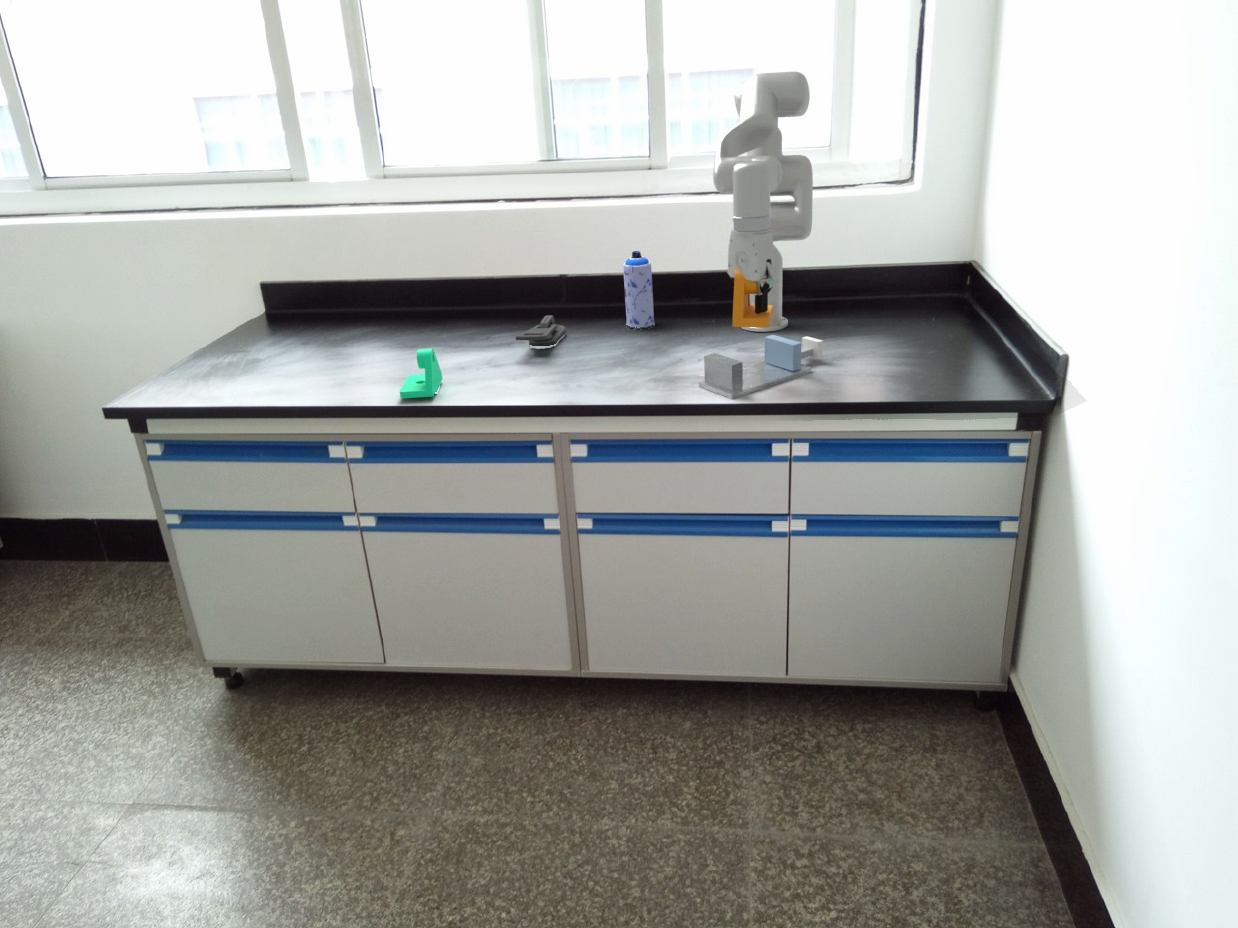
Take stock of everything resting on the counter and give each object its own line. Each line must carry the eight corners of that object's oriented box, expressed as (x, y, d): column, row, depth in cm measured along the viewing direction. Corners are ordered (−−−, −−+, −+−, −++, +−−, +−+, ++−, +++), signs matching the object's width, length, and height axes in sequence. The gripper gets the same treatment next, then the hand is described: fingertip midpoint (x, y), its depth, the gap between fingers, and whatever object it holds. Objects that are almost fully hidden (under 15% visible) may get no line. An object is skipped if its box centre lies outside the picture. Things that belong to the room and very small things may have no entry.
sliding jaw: (764, 362, 209) (764, 337, 206) (800, 350, 215) (800, 326, 212) (792, 371, 202) (793, 345, 200) (828, 359, 208) (829, 333, 205)
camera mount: (411, 385, 215) (404, 343, 211) (443, 383, 215) (436, 341, 210) (400, 403, 204) (392, 359, 200) (434, 401, 204) (427, 357, 200)
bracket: (766, 331, 191) (767, 274, 185) (732, 330, 192) (732, 274, 187) (773, 317, 200) (773, 262, 195) (740, 316, 202) (740, 262, 197)
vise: (698, 386, 201) (697, 356, 198) (777, 361, 213) (777, 332, 210) (731, 399, 192) (731, 367, 189) (811, 372, 204) (812, 342, 201)
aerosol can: (628, 321, 251) (623, 249, 243) (656, 321, 250) (652, 248, 242) (624, 329, 244) (619, 255, 236) (653, 329, 243) (649, 254, 235)
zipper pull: (512, 337, 222) (533, 309, 245) (515, 362, 225) (536, 333, 247) (547, 336, 221) (566, 308, 243) (550, 362, 224) (568, 332, 246)
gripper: (711, 222, 192) (712, 306, 200) (767, 231, 179) (767, 321, 187) (737, 217, 196) (738, 300, 204) (794, 225, 183) (793, 313, 191)
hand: (752, 309), depth 195 cm, fingers closed on bracket, 4 cm apart
